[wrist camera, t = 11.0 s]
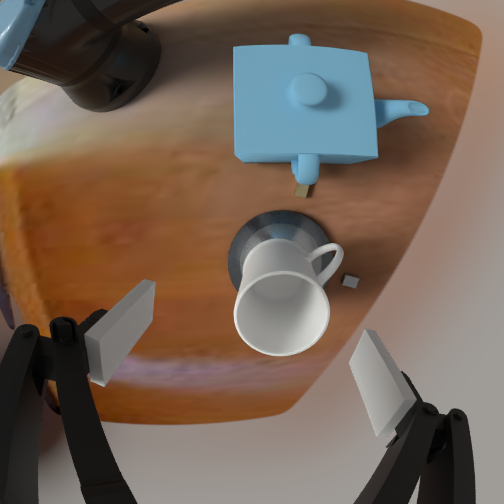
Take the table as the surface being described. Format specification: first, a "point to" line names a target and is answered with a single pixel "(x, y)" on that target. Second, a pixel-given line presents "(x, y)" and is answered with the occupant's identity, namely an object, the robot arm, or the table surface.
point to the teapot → (308, 106)
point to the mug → (283, 297)
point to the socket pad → (282, 227)
